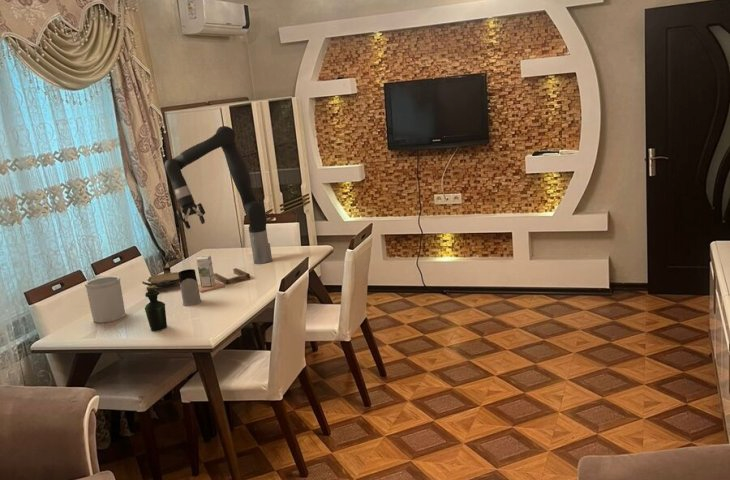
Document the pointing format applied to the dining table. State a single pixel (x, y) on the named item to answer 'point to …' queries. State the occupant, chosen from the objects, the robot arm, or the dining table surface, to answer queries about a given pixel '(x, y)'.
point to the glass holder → (189, 287)
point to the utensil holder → (105, 298)
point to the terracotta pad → (211, 287)
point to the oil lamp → (164, 278)
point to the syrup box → (205, 271)
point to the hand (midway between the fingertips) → (196, 226)
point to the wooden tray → (240, 277)
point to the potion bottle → (155, 310)
